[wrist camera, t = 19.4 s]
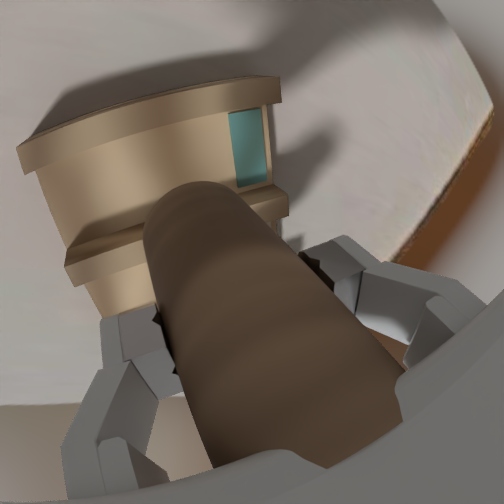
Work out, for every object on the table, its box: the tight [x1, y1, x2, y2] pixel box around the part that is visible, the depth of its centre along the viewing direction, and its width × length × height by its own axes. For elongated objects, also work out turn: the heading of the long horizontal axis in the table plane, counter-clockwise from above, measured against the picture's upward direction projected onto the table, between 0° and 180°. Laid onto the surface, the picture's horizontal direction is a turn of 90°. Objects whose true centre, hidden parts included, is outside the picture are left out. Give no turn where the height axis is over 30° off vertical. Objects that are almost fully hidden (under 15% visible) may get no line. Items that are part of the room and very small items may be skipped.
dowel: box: [143, 181, 406, 469], centre depth 8 cm, size 4×4×9 cm
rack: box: [16, 76, 289, 318], centre depth 19 cm, size 14×16×3 cm
